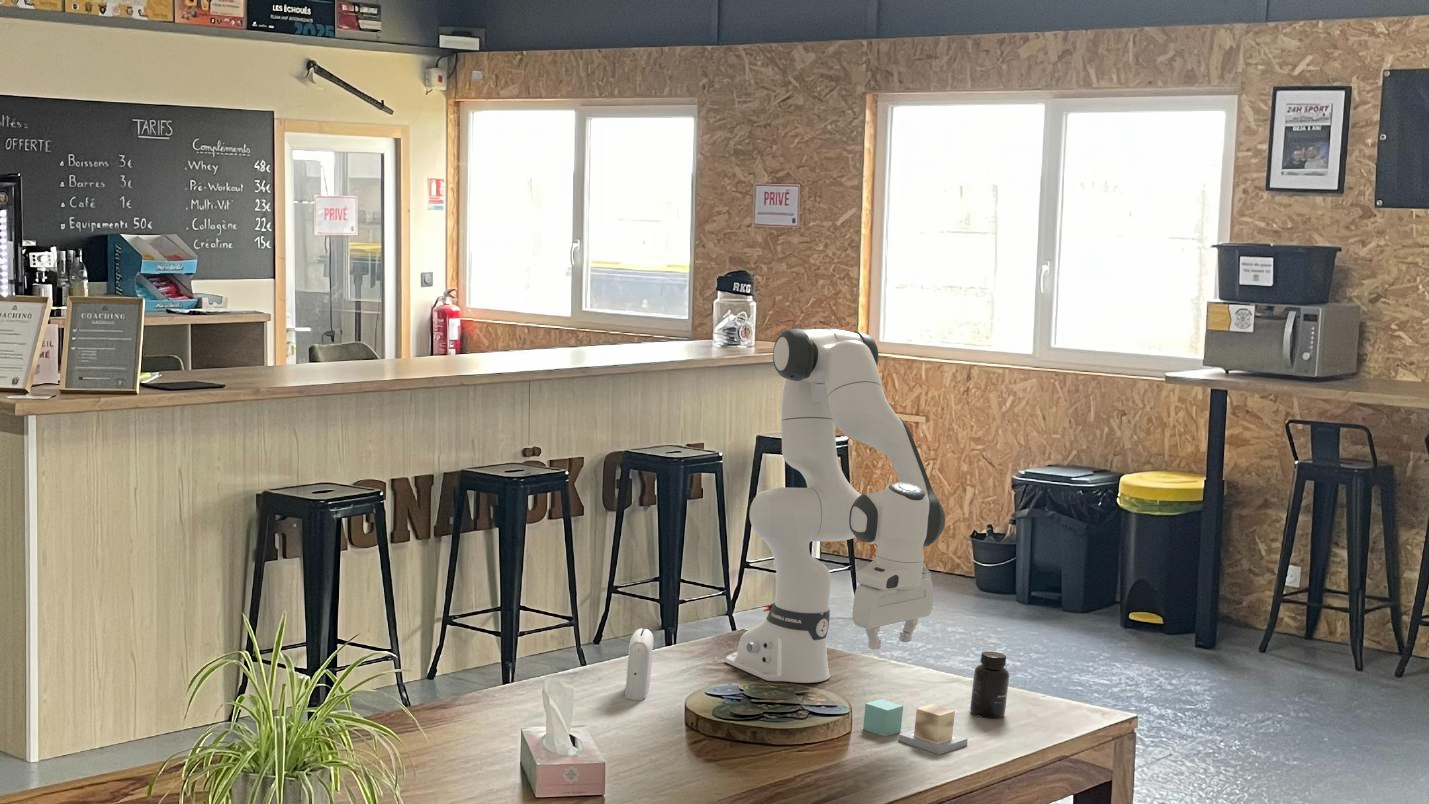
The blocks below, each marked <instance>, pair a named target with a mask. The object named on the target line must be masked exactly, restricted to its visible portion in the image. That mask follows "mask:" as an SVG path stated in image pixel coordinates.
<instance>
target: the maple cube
mask: <svg viewBox="0 0 1429 804" xmlns="http://www.w3.org/2000/svg"><path fill="white" fill-rule="evenodd" d="M915 713H916V714H915V720H914V721H915V723H914V729H915V731H914V735H916V736H919V737H922V738H925V739H928V740H931V741H934V742H940V741H943V740H946V739H949V738H952V734H954V733H953V732H954V722H955V713H956V711H955V710H953V709H950V708H946V707H943V706H940V705H936V704H934V703H931V704H927V705H923V706H920V707H917V708H916V712H915Z"/></svg>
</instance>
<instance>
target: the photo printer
mask: <svg viewBox="0 0 1429 804" xmlns="http://www.w3.org/2000/svg"><path fill="white" fill-rule="evenodd" d="M654 639H655V638H654V634H653V632H651V630H649V629H648V628H645V629H644V628H638V629H636V630H635V631H634V632H633V634H632V635H631V637H630V640H629V645H628V655H627V657H628V658H627V669H626V681H625V691H624V692H625V698H627V699H628V700H632V701H642V700H645V699H646V697H647V695H648V692H649V688H650V684H651V674H652V665H653V664H652V663H653V650H654V649H653V648H654Z"/></svg>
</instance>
